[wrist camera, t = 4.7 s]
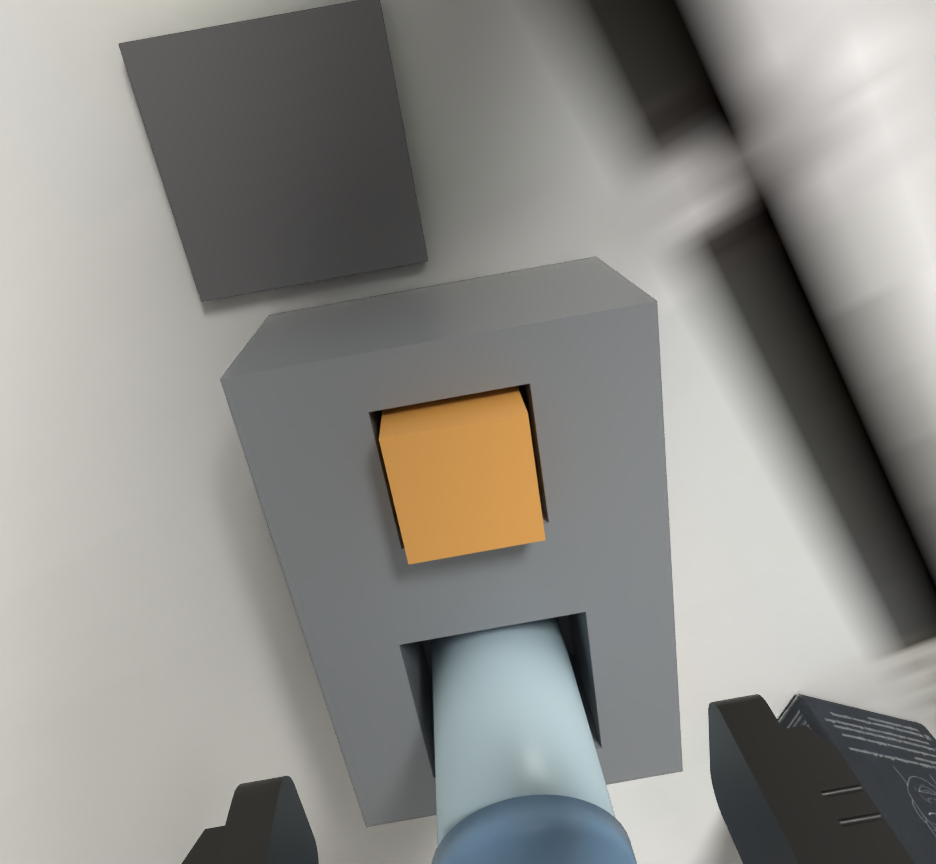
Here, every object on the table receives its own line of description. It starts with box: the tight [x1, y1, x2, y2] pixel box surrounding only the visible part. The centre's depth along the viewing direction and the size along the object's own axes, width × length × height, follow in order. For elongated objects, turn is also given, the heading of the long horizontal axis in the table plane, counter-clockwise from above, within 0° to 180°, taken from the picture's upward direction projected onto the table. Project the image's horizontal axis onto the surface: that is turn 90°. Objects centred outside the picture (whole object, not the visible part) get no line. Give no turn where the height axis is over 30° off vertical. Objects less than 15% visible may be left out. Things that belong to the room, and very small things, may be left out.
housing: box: [220, 257, 683, 827], centre depth 26 cm, size 18×12×7 cm, turn 9°
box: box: [778, 694, 936, 864], centre depth 32 cm, size 8×6×11 cm
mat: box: [119, 0, 428, 302], centre depth 23 cm, size 8×8×1 cm
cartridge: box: [431, 617, 637, 864], centre depth 23 cm, size 5×5×12 cm
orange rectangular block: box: [379, 386, 546, 564], centre depth 22 cm, size 4×4×5 cm
